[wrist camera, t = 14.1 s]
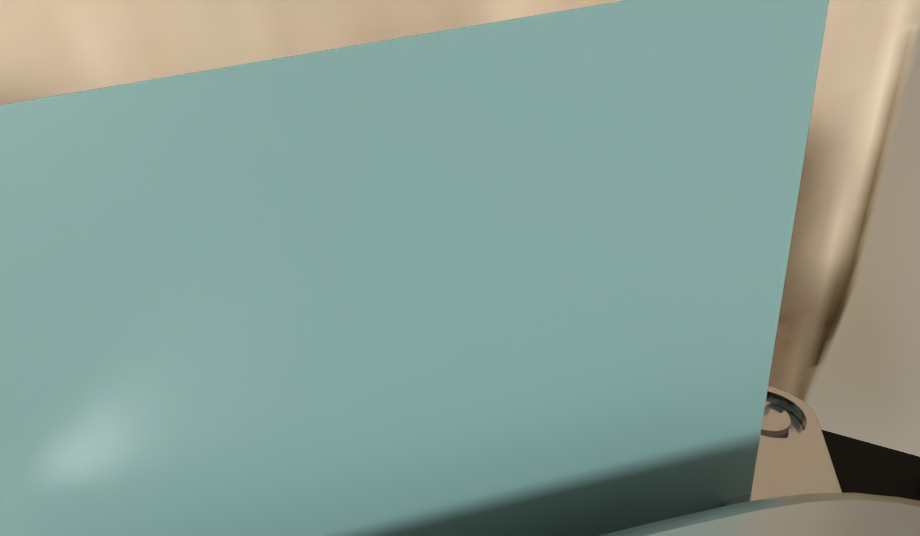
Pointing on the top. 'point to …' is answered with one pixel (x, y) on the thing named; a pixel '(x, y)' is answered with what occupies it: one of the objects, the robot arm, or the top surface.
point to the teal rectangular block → (407, 280)
